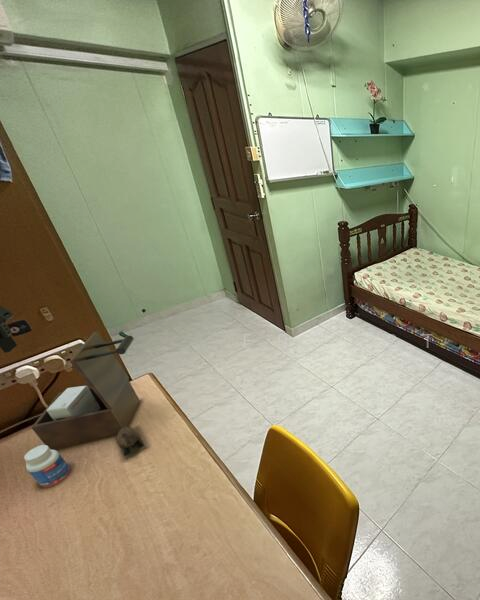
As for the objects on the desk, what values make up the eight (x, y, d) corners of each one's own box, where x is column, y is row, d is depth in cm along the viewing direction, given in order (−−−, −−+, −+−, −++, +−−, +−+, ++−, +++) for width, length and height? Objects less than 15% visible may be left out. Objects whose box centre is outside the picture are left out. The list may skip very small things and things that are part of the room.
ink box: (86, 415, 93) (66, 386, 87) (106, 412, 94) (87, 384, 88) (66, 440, 86) (43, 410, 80) (88, 437, 87) (66, 407, 81)
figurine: (151, 458, 82) (138, 437, 78) (130, 471, 79) (116, 449, 75) (137, 429, 90) (125, 408, 86) (118, 439, 87) (104, 417, 83)
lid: (69, 360, 75) (114, 350, 77) (93, 332, 85) (133, 323, 88) (108, 409, 84) (148, 399, 86) (126, 378, 94) (161, 369, 96)
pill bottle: (57, 488, 75) (34, 463, 71) (34, 488, 75) (11, 463, 71) (77, 467, 80) (58, 442, 75) (57, 466, 80) (36, 442, 75)
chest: (51, 452, 84) (30, 427, 79) (75, 416, 94) (58, 392, 89) (125, 434, 89) (110, 410, 84) (140, 402, 99) (128, 379, 94)
